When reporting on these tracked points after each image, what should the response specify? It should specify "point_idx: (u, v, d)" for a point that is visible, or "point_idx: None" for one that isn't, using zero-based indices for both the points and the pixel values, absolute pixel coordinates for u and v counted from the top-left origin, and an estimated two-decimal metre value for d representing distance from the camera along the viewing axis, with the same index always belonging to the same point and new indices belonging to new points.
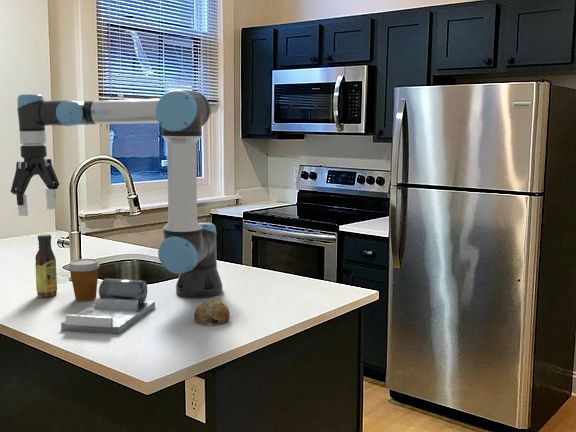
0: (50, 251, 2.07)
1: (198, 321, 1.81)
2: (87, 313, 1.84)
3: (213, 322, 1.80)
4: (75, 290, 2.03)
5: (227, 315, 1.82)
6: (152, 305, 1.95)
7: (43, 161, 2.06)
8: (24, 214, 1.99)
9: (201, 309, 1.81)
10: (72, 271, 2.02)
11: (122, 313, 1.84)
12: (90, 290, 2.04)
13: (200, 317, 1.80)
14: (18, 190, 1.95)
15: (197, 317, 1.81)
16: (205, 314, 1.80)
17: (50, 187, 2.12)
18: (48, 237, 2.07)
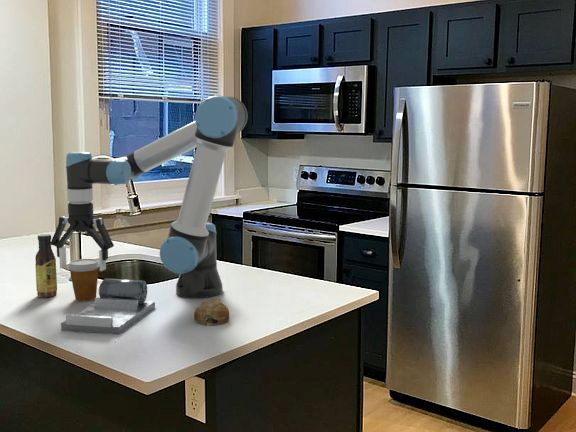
0: (50, 251, 2.07)
1: (198, 321, 1.82)
2: (87, 313, 1.84)
3: (213, 322, 1.80)
4: (75, 290, 2.03)
5: (227, 315, 1.82)
6: (152, 305, 1.95)
7: (88, 220, 2.01)
8: None
9: (201, 309, 1.81)
10: (72, 271, 2.02)
11: (122, 313, 1.84)
12: (90, 290, 2.04)
13: (200, 317, 1.81)
14: (51, 242, 2.04)
15: (197, 317, 1.81)
16: (205, 314, 1.80)
17: None
18: (48, 237, 2.07)
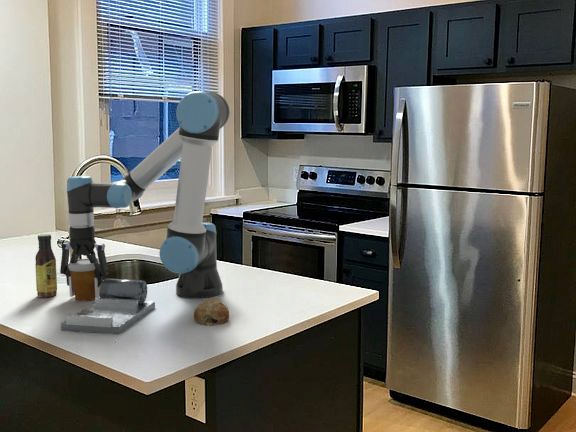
0: (50, 251, 2.07)
1: (198, 321, 1.82)
2: (87, 313, 1.84)
3: (213, 322, 1.81)
4: (75, 290, 2.03)
5: (226, 315, 1.82)
6: (152, 305, 1.95)
7: (90, 243, 2.02)
8: None
9: (200, 309, 1.81)
10: (72, 271, 2.02)
11: (122, 313, 1.84)
12: (90, 290, 2.04)
13: (200, 317, 1.81)
14: (61, 271, 2.05)
15: (197, 317, 1.81)
16: (205, 314, 1.80)
17: None
18: (48, 237, 2.07)
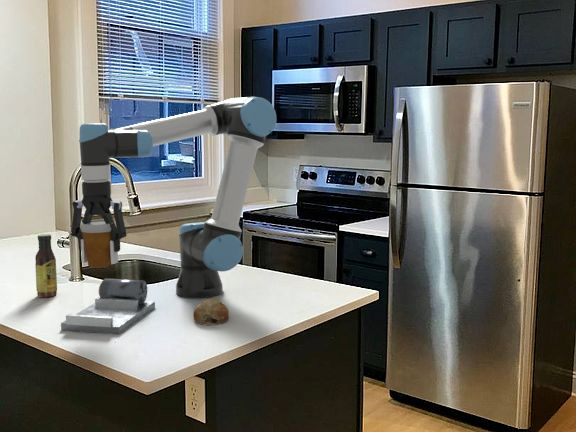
0: (50, 251, 2.07)
1: (197, 320, 1.82)
2: (87, 313, 1.84)
3: (212, 321, 1.81)
4: (88, 255, 1.77)
5: (226, 314, 1.83)
6: (152, 305, 1.95)
7: (105, 201, 1.76)
8: None
9: (200, 309, 1.81)
10: (85, 232, 1.76)
11: (122, 313, 1.84)
12: (105, 254, 1.78)
13: (199, 316, 1.81)
14: (72, 233, 1.80)
15: (196, 316, 1.82)
16: (204, 313, 1.81)
17: None
18: (48, 237, 2.07)
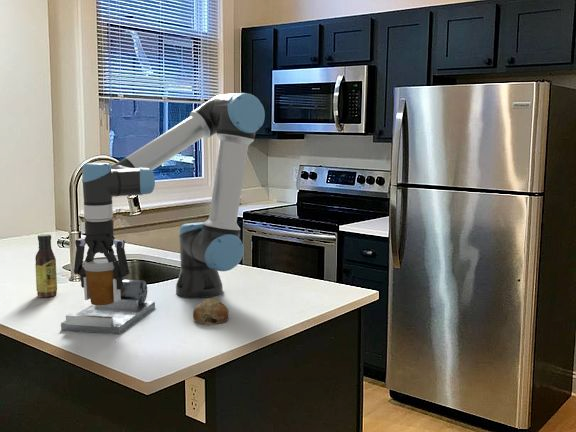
0: (50, 251, 2.07)
1: (197, 320, 1.82)
2: (87, 313, 1.84)
3: (212, 321, 1.81)
4: (91, 293, 1.79)
5: (226, 314, 1.83)
6: (152, 305, 1.95)
7: (108, 239, 1.77)
8: None
9: (200, 309, 1.82)
10: (88, 271, 1.77)
11: (122, 313, 1.84)
12: (108, 292, 1.79)
13: (199, 316, 1.81)
14: (75, 271, 1.81)
15: (196, 316, 1.82)
16: (204, 313, 1.81)
17: None
18: (48, 237, 2.07)
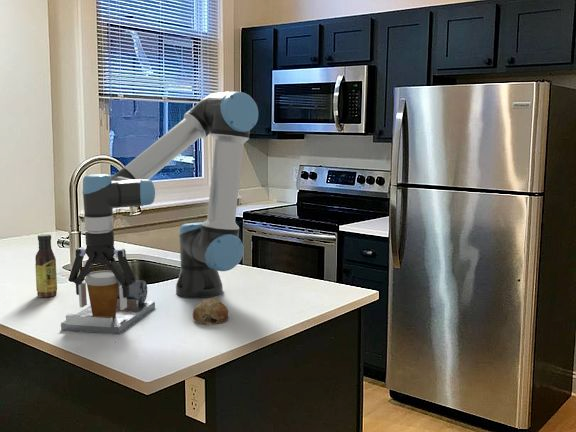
0: (50, 251, 2.07)
1: (197, 320, 1.82)
2: (87, 313, 1.84)
3: (212, 321, 1.81)
4: (93, 307, 1.79)
5: (226, 314, 1.83)
6: (152, 305, 1.95)
7: (108, 251, 1.78)
8: None
9: (200, 309, 1.82)
10: (89, 285, 1.78)
11: (122, 313, 1.84)
12: (109, 306, 1.80)
13: (199, 316, 1.81)
14: (70, 278, 1.81)
15: (196, 316, 1.82)
16: (204, 313, 1.81)
17: None
18: (48, 237, 2.07)
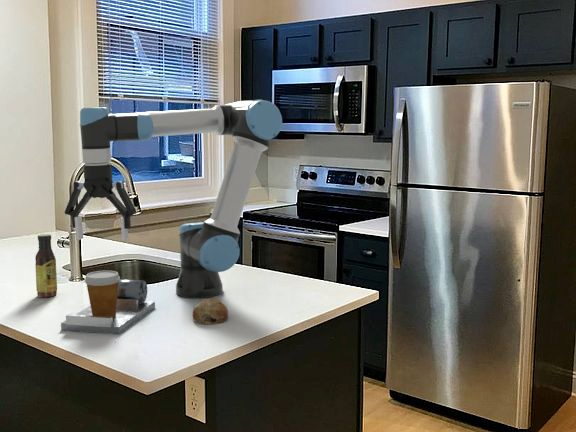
0: (50, 251, 2.07)
1: (196, 320, 1.82)
2: (87, 313, 1.84)
3: (211, 321, 1.81)
4: (93, 307, 1.79)
5: (225, 314, 1.83)
6: (152, 305, 1.95)
7: (106, 183, 1.78)
8: None
9: (199, 308, 1.82)
10: (89, 285, 1.78)
11: (122, 313, 1.84)
12: (109, 306, 1.80)
13: (198, 316, 1.81)
14: (66, 211, 1.82)
15: (195, 316, 1.82)
16: (203, 313, 1.81)
17: None
18: (48, 237, 2.07)
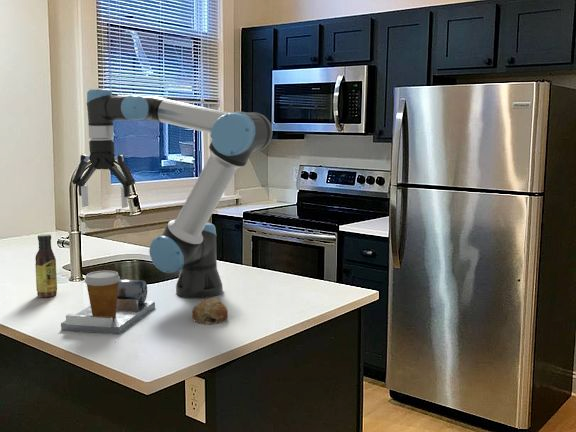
0: (50, 251, 2.07)
1: (196, 320, 1.83)
2: (87, 313, 1.84)
3: (211, 321, 1.81)
4: (93, 307, 1.79)
5: (225, 314, 1.83)
6: (152, 305, 1.95)
7: (109, 157, 2.03)
8: None
9: (199, 308, 1.82)
10: (89, 285, 1.78)
11: (122, 313, 1.84)
12: (109, 306, 1.80)
13: (198, 316, 1.82)
14: (73, 181, 2.06)
15: (195, 316, 1.82)
16: (203, 313, 1.81)
17: None
18: (48, 237, 2.07)
